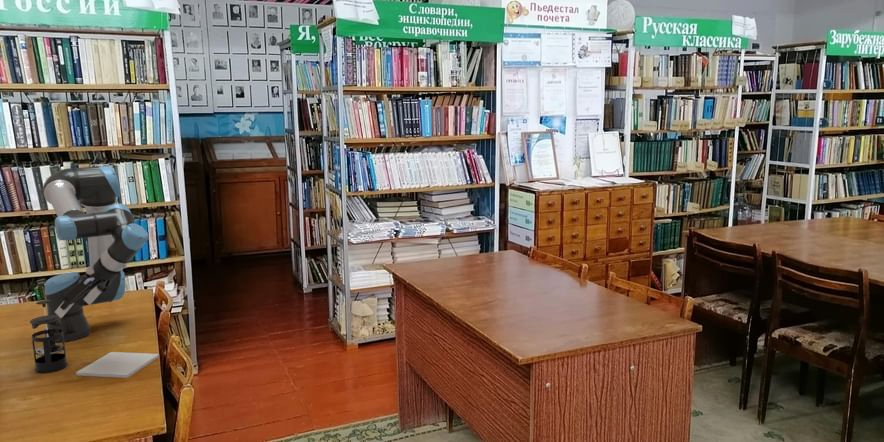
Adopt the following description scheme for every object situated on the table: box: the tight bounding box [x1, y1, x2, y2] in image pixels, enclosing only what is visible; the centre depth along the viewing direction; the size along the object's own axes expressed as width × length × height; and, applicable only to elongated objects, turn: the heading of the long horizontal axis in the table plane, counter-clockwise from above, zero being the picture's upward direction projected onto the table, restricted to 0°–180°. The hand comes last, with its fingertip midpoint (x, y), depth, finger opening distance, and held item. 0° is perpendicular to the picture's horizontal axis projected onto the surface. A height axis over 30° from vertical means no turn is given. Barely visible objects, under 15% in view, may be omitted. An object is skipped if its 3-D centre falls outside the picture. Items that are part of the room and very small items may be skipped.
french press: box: [29, 299, 69, 374], centre depth 217 cm, size 12×9×23 cm
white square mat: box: [75, 351, 160, 379], centre depth 219 cm, size 18×18×1 cm
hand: (73, 308), depth 214 cm, fingers open, 13 cm apart
